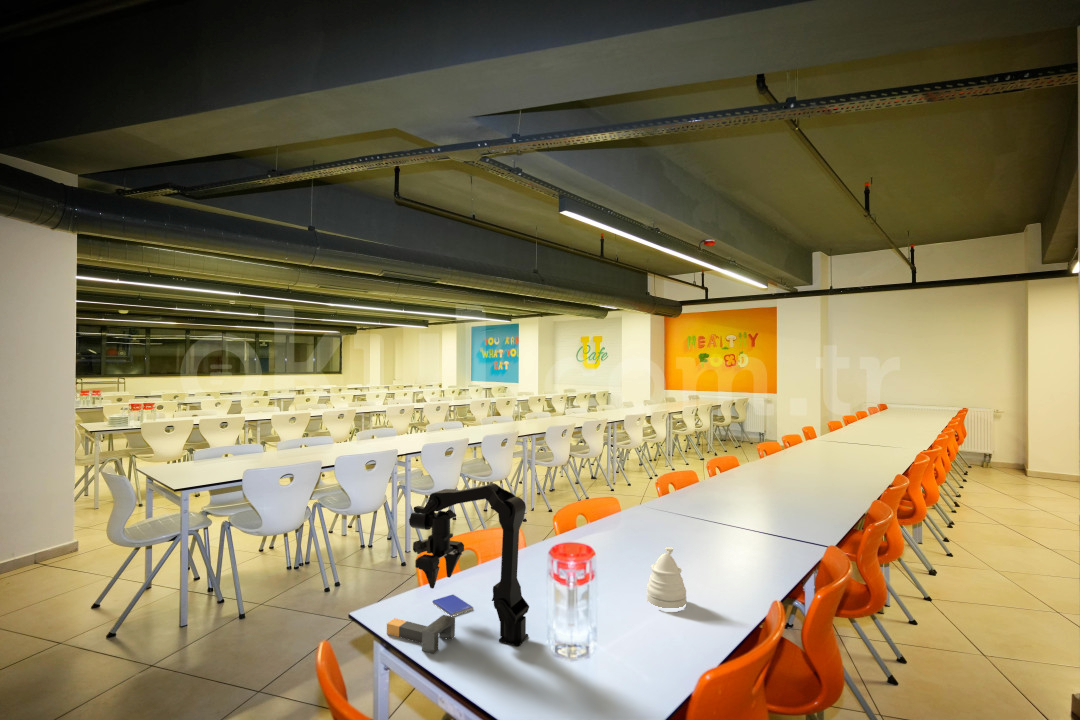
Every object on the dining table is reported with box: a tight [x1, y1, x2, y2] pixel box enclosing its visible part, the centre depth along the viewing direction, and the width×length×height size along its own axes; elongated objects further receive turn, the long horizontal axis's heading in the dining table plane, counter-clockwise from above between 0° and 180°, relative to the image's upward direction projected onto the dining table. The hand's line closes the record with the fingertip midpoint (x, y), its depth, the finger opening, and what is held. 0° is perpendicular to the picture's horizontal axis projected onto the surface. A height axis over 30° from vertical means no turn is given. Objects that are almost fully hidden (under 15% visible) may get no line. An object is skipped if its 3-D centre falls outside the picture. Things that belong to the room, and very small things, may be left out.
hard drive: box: [431, 594, 474, 617], centre depth 163 cm, size 2×8×12 cm
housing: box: [421, 614, 456, 655], centre depth 140 cm, size 4×10×6 cm, turn 156°
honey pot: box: [646, 546, 687, 608], centre depth 167 cm, size 13×13×18 cm
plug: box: [386, 617, 428, 644], centre depth 144 cm, size 14×4×3 cm, turn 66°
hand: (440, 582), depth 154 cm, fingers open, 9 cm apart
